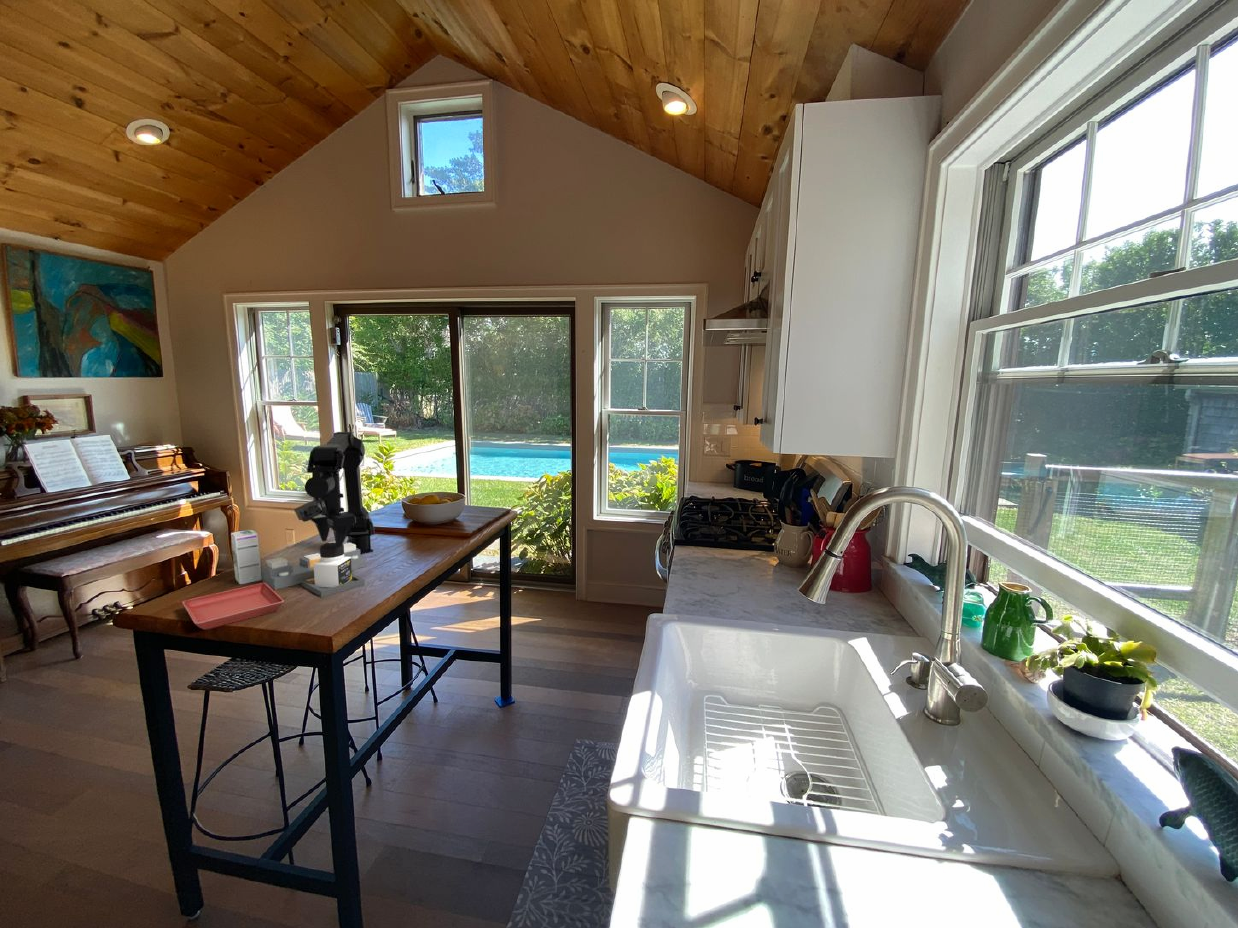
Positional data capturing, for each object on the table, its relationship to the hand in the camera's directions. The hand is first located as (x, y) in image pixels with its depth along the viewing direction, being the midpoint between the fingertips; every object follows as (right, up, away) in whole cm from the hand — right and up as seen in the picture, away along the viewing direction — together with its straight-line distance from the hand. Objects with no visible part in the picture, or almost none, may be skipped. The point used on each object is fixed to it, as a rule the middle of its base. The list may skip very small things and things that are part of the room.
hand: (331, 544), depth 149 cm
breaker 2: (-6, -6, +19) cm, 20 cm away
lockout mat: (0, -12, +2) cm, 13 cm away
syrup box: (-27, -12, +5) cm, 30 cm away
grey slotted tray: (-10, -11, +11) cm, 19 cm away
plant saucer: (-16, -15, -16) cm, 27 cm away
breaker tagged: (-12, -8, +11) cm, 18 cm away
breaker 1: (-18, -7, +3) cm, 19 cm away
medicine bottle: (0, -12, +2) cm, 12 cm away
